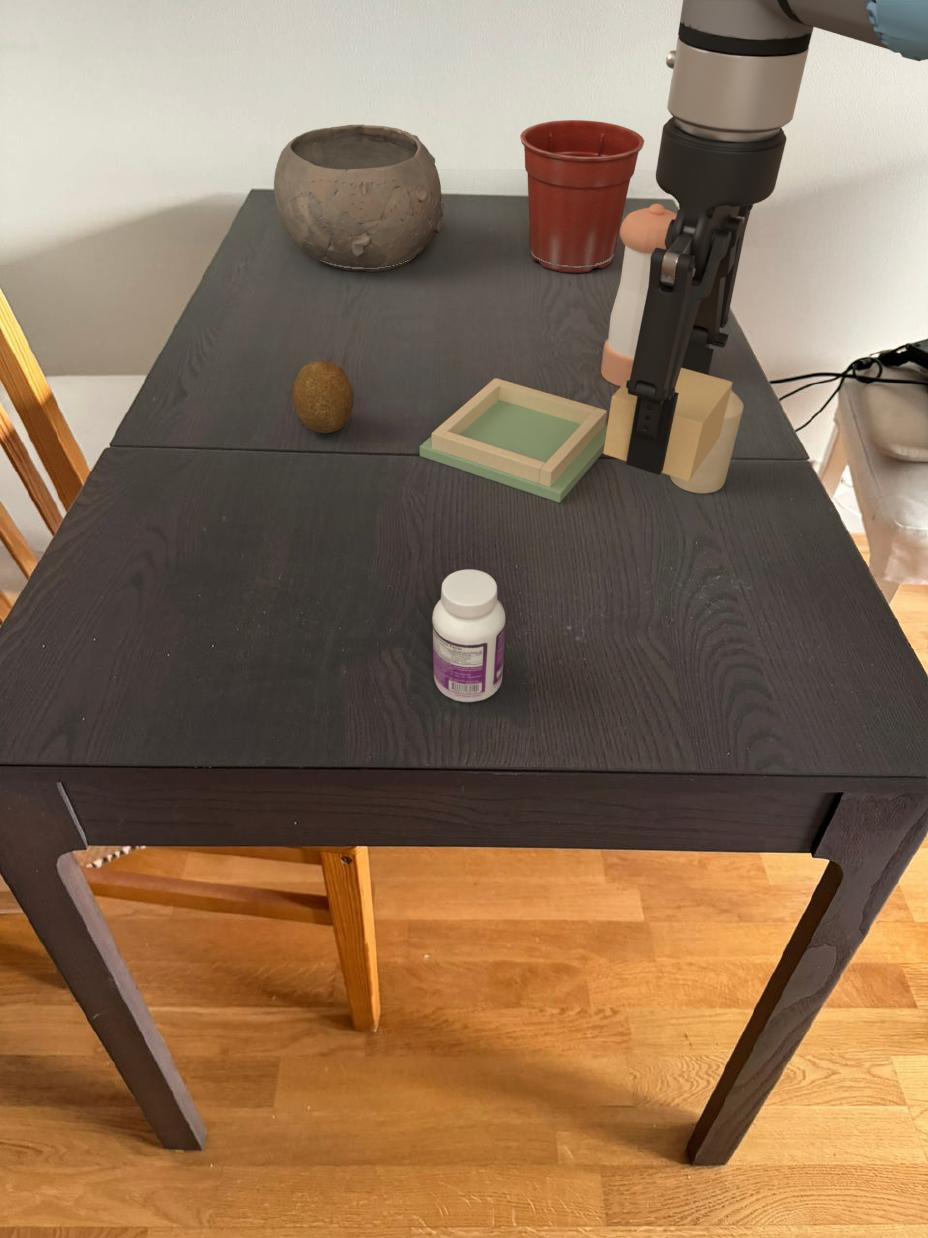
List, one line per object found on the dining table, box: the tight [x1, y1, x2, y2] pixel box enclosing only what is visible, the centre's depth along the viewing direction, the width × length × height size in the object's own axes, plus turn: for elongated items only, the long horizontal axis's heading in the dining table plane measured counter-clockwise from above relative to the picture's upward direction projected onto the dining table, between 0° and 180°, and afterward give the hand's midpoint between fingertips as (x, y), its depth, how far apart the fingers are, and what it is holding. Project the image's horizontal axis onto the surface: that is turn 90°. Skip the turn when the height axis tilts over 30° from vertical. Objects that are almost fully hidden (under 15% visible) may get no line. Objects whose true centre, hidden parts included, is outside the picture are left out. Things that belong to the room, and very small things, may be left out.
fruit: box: [292, 360, 355, 435], centre depth 96 cm, size 6×6×8 cm
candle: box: [669, 389, 744, 494], centre depth 90 cm, size 6×6×10 cm
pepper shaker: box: [600, 203, 677, 387], centre depth 103 cm, size 7×7×19 cm
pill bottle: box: [431, 568, 507, 703], centre depth 69 cm, size 5×5×10 cm
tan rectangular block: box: [602, 368, 734, 481], centre depth 71 cm, size 7×7×5 cm
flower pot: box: [519, 119, 645, 274], centre depth 129 cm, size 16×16×16 cm
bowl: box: [273, 124, 445, 273], centre depth 129 cm, size 23×23×15 cm
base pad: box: [419, 377, 608, 503], centre depth 96 cm, size 16×14×3 cm
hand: (662, 443), depth 72 cm, fingers closed on tan rectangular block, 7 cm apart
